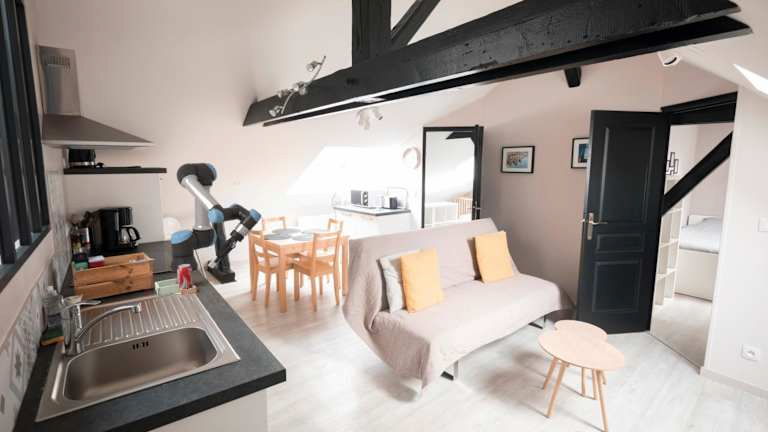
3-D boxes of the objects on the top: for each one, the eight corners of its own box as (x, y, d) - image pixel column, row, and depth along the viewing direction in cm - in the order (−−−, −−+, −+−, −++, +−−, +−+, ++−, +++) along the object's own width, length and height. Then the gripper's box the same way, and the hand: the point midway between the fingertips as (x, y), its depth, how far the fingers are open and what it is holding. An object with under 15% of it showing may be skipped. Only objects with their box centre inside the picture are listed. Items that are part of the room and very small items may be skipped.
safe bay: (175, 285, 205) (175, 278, 204) (179, 292, 195) (179, 284, 195) (155, 289, 199) (154, 282, 199) (158, 296, 190) (157, 288, 189)
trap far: (188, 280, 213) (187, 276, 213) (189, 282, 210) (189, 278, 209) (174, 283, 209) (173, 278, 209) (175, 285, 206) (175, 280, 205)
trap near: (195, 289, 199) (194, 285, 198) (196, 292, 195) (196, 287, 195) (180, 292, 195) (179, 288, 194) (181, 295, 191) (181, 290, 191)
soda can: (189, 289, 199) (187, 267, 197) (175, 289, 199) (173, 267, 197) (196, 285, 206) (194, 263, 204) (183, 285, 206) (181, 263, 204)
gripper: (248, 238, 212) (219, 273, 205) (241, 235, 222) (212, 268, 215) (237, 230, 208) (207, 265, 201) (230, 227, 218) (201, 260, 211)
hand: (210, 266), depth 208 cm, fingers closed
